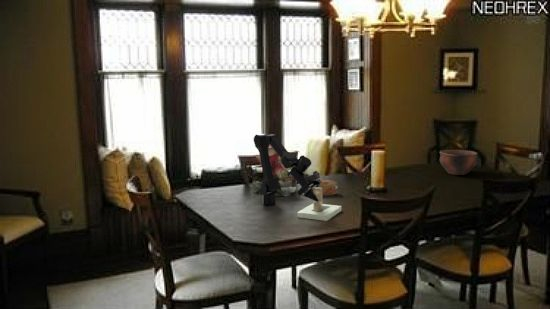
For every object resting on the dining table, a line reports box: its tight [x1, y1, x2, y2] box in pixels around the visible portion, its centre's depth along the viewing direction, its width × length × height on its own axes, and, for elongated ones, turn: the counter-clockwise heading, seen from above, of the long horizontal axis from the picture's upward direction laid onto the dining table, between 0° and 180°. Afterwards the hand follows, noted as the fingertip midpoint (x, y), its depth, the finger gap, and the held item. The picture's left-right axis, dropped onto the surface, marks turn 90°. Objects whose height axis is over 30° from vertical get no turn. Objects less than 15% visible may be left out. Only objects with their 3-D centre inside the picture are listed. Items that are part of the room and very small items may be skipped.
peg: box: [312, 187, 323, 212], centre depth 269 cm, size 4×4×14 cm
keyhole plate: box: [296, 203, 342, 222], centre depth 272 cm, size 20×16×2 cm
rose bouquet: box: [249, 145, 297, 197], centre depth 322 cm, size 26×29×30 cm
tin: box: [319, 180, 340, 197], centre depth 312 cm, size 15×3×8 cm, turn 101°
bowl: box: [439, 149, 478, 176], centre depth 361 cm, size 25×25×15 cm
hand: (320, 199), depth 268 cm, fingers open, 5 cm apart
